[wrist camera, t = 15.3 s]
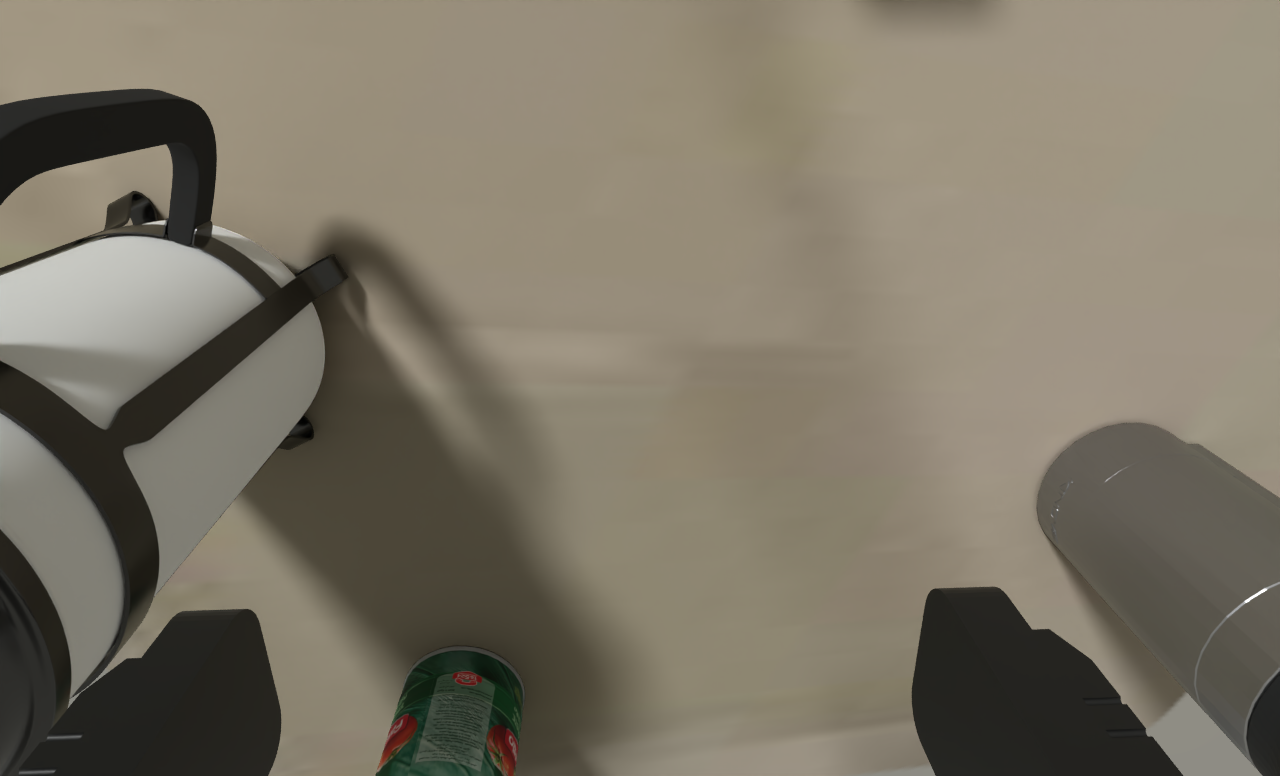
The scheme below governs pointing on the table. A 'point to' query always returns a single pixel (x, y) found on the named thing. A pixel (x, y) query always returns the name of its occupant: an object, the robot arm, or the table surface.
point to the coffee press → (129, 394)
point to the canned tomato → (456, 717)
